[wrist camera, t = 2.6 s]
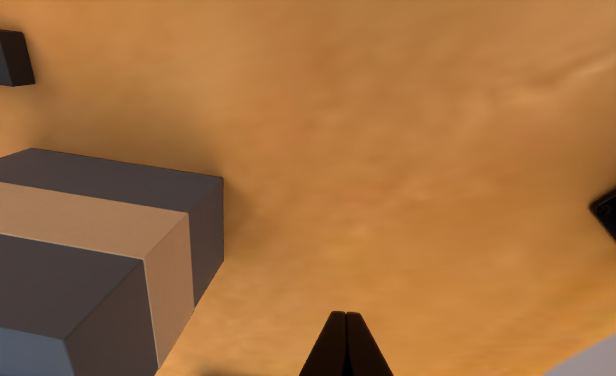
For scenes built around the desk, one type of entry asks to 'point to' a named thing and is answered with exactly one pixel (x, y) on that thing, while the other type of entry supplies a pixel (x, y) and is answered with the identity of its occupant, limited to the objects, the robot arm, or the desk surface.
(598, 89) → the desk surface
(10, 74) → the strips
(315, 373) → the robot arm
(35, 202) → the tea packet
